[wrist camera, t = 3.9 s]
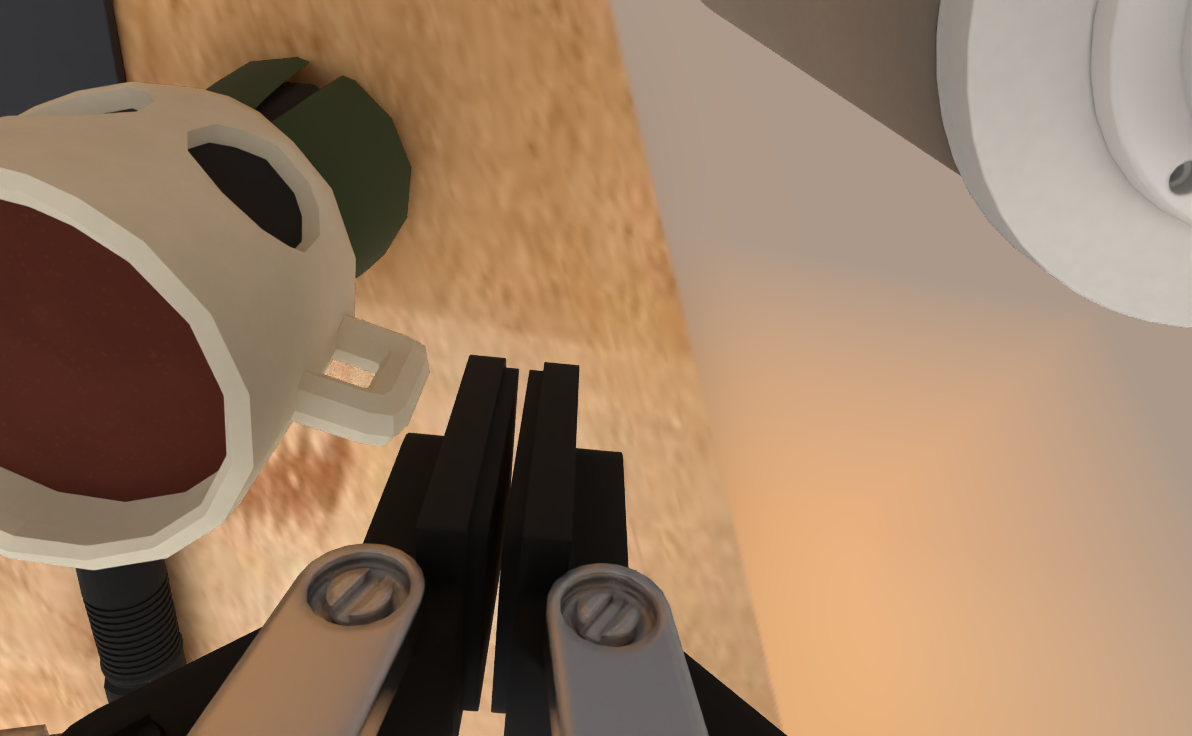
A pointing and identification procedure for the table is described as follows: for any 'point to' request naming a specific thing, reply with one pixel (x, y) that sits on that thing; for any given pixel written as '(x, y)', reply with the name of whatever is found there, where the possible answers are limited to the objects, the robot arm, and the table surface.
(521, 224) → the table surface
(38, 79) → the mat
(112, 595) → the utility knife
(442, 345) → the table surface
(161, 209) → the character mug
